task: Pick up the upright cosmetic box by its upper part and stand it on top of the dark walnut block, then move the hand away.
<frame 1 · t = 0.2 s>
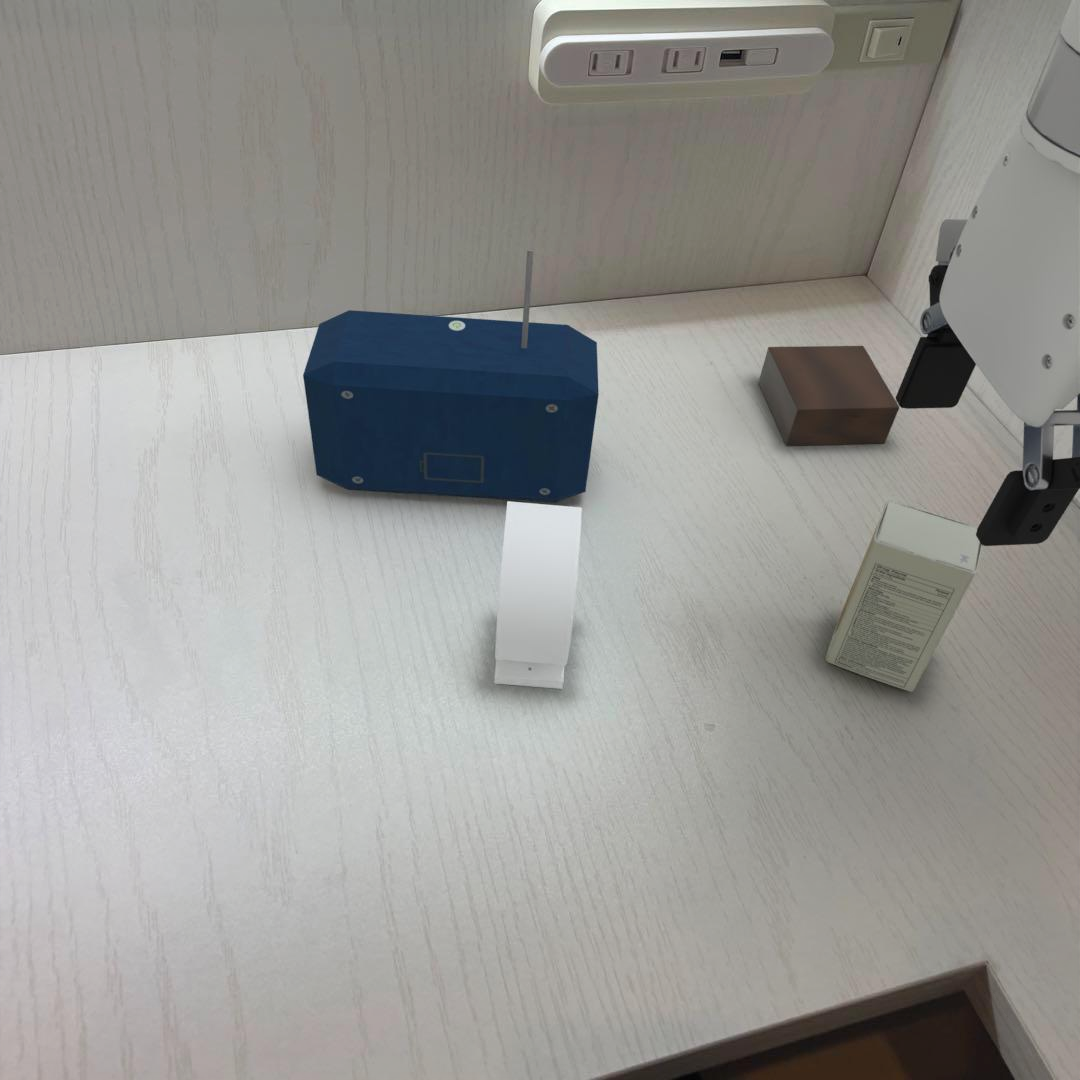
hand: (963, 467, 47), 23 cm above the table, tool pointing down, fingers open, 9 cm apart
cosmetic box: (870, 657, 68), on the table
walnut block: (819, 412, 87), on the table
radio: (455, 468, 79), on the table
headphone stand: (530, 664, 66), on the table
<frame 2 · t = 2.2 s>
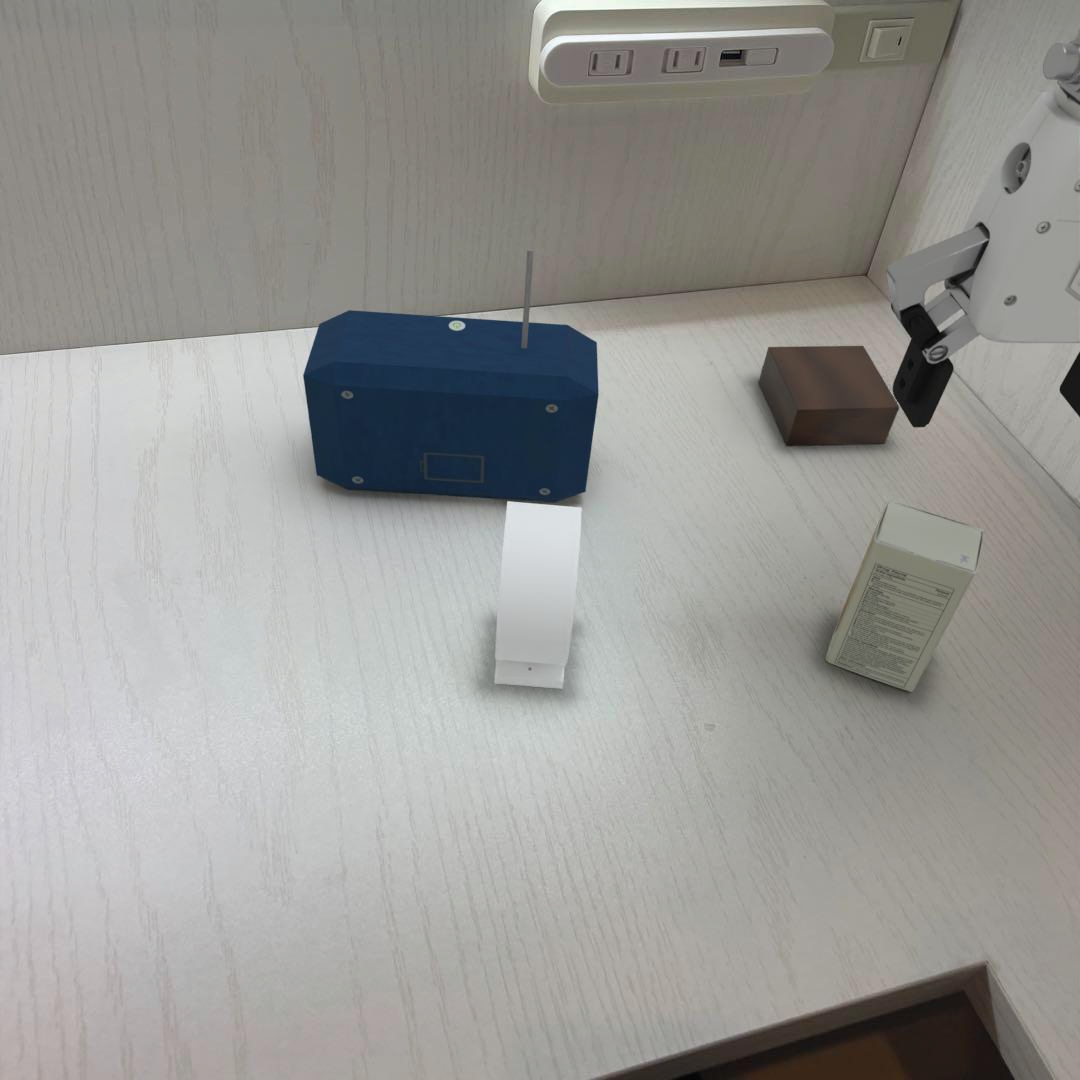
hand: (993, 409, 52), 22 cm above the table, tool pointing down, fingers open, 9 cm apart
nothing on the table moved.
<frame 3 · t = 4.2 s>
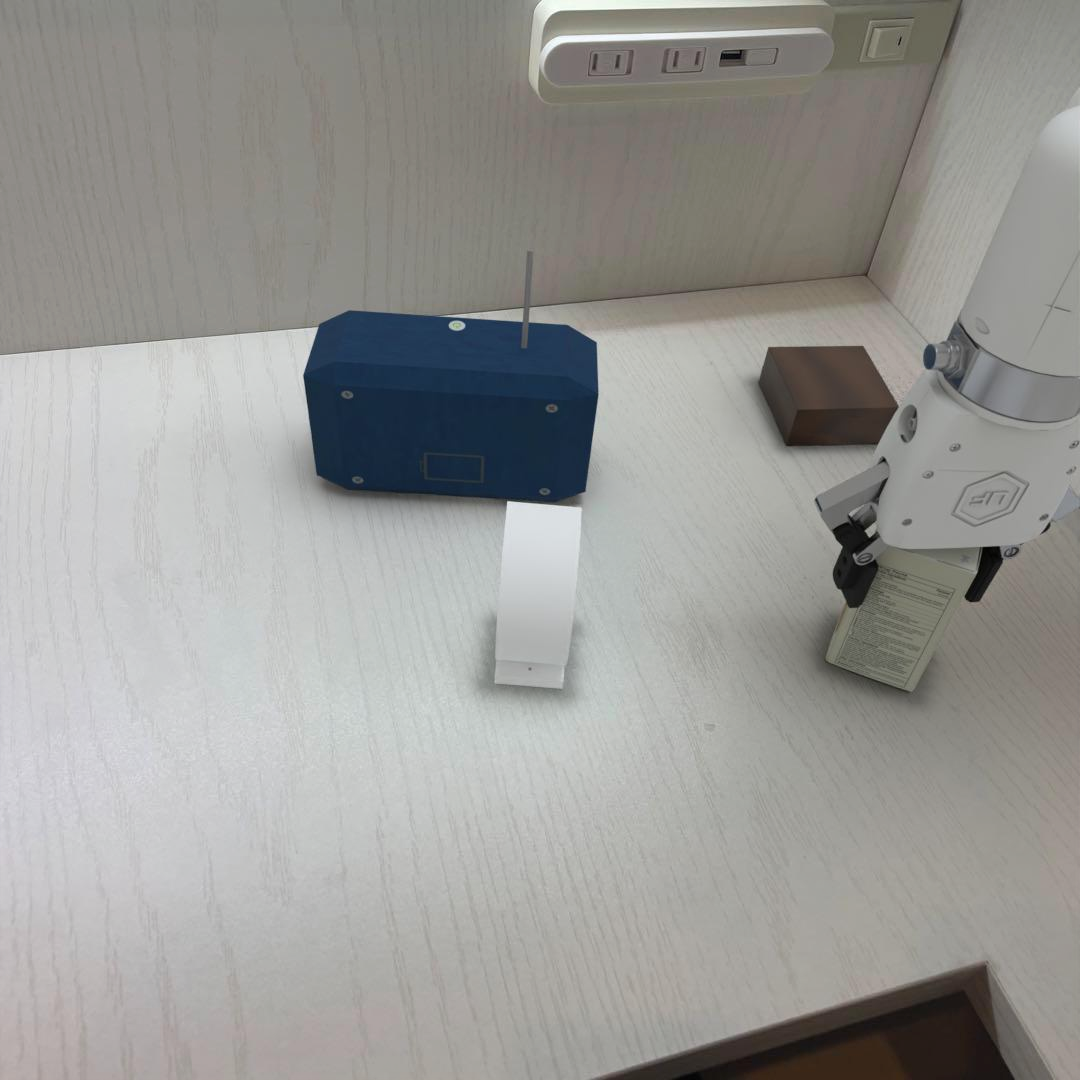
hand: (905, 587, 63), 7 cm above the table, tool pointing down, fingers closed on cosmetic box, 7 cm apart
cosmetic box: (870, 657, 68), on the table, touching gripper
everything else where it was.
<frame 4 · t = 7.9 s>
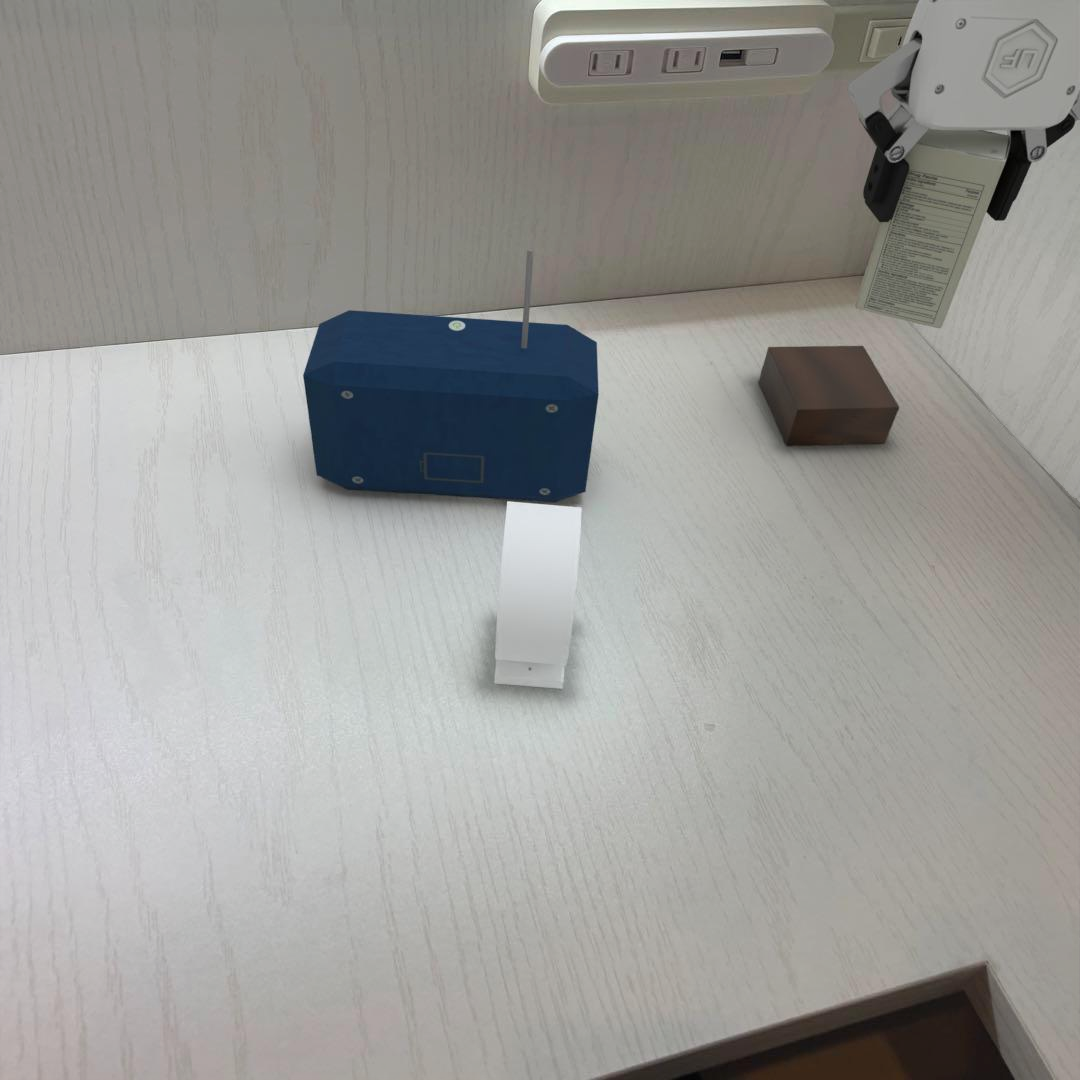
hand: (933, 210, 64), 24 cm above the table, tool pointing down, fingers closed on cosmetic box, 7 cm apart
cosmetic box: (898, 307, 70), point 16 cm above the table, touching gripper
everything else where it was.
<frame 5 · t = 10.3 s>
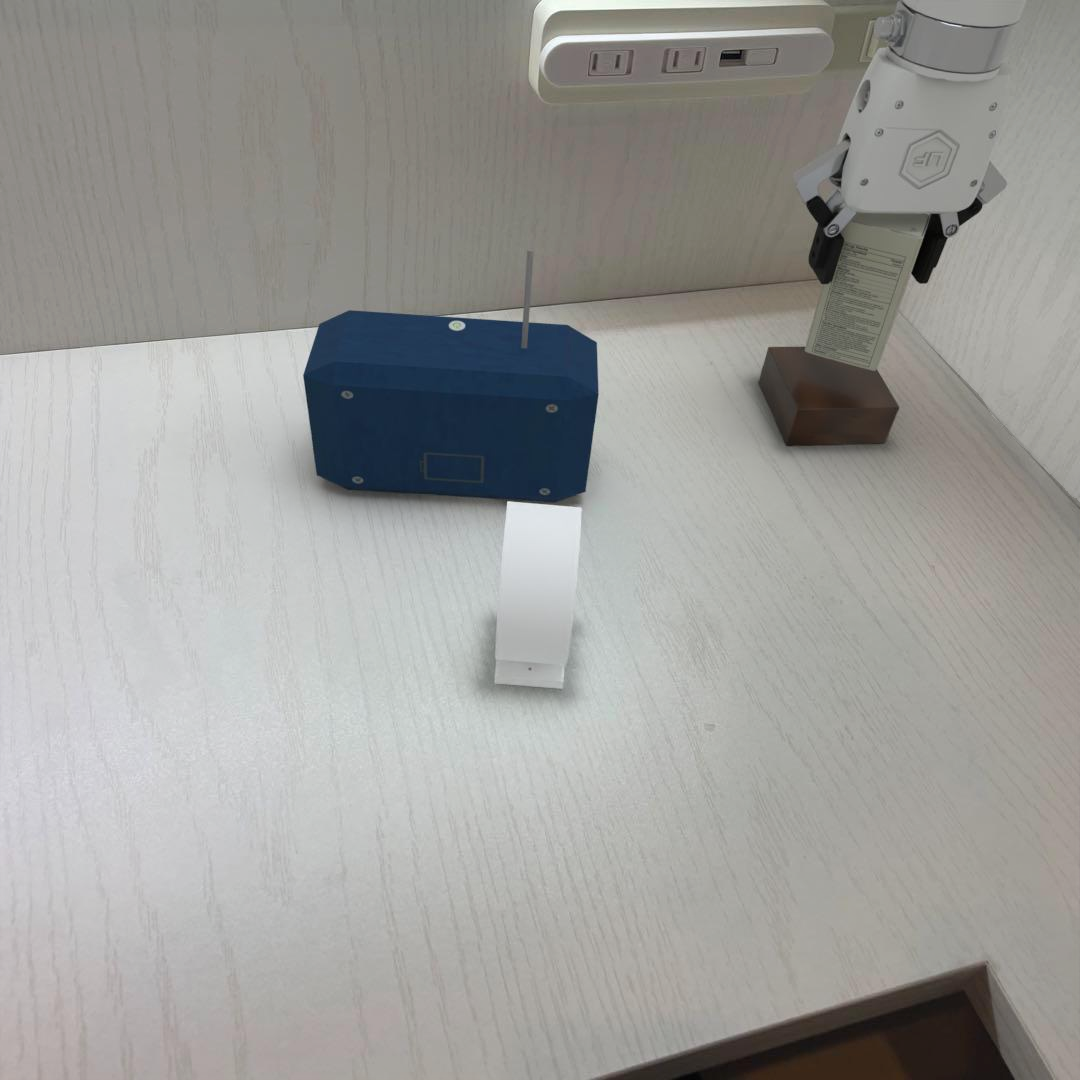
hand: (868, 273, 77), 14 cm above the table, tool pointing down, fingers closed on cosmetic box, 7 cm apart
cosmetic box: (841, 351, 82), point 7 cm above the table, touching gripper
everything else where it was.
when the fingers open (11 cm above the table, at t = 11.9 s): cosmetic box stays where it is, resting on walnut block.
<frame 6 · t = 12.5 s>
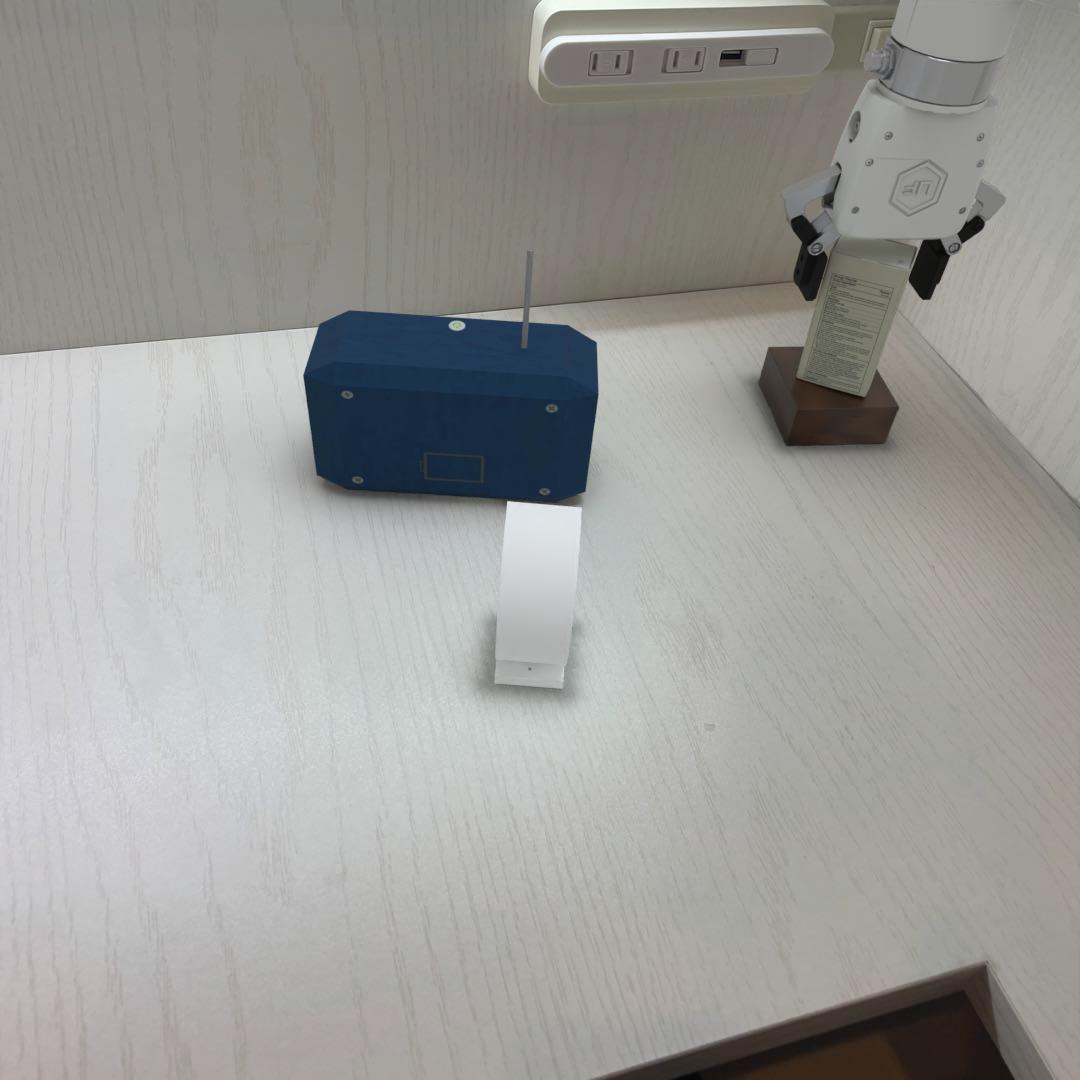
hand: (862, 291, 78), 12 cm above the table, tool pointing down, fingers open, 9 cm apart
cosmetic box: (832, 377, 84), point 4 cm above the table, touching walnut block
walnut block: (819, 412, 87), on the table, touching cosmetic box
everything else where it was.
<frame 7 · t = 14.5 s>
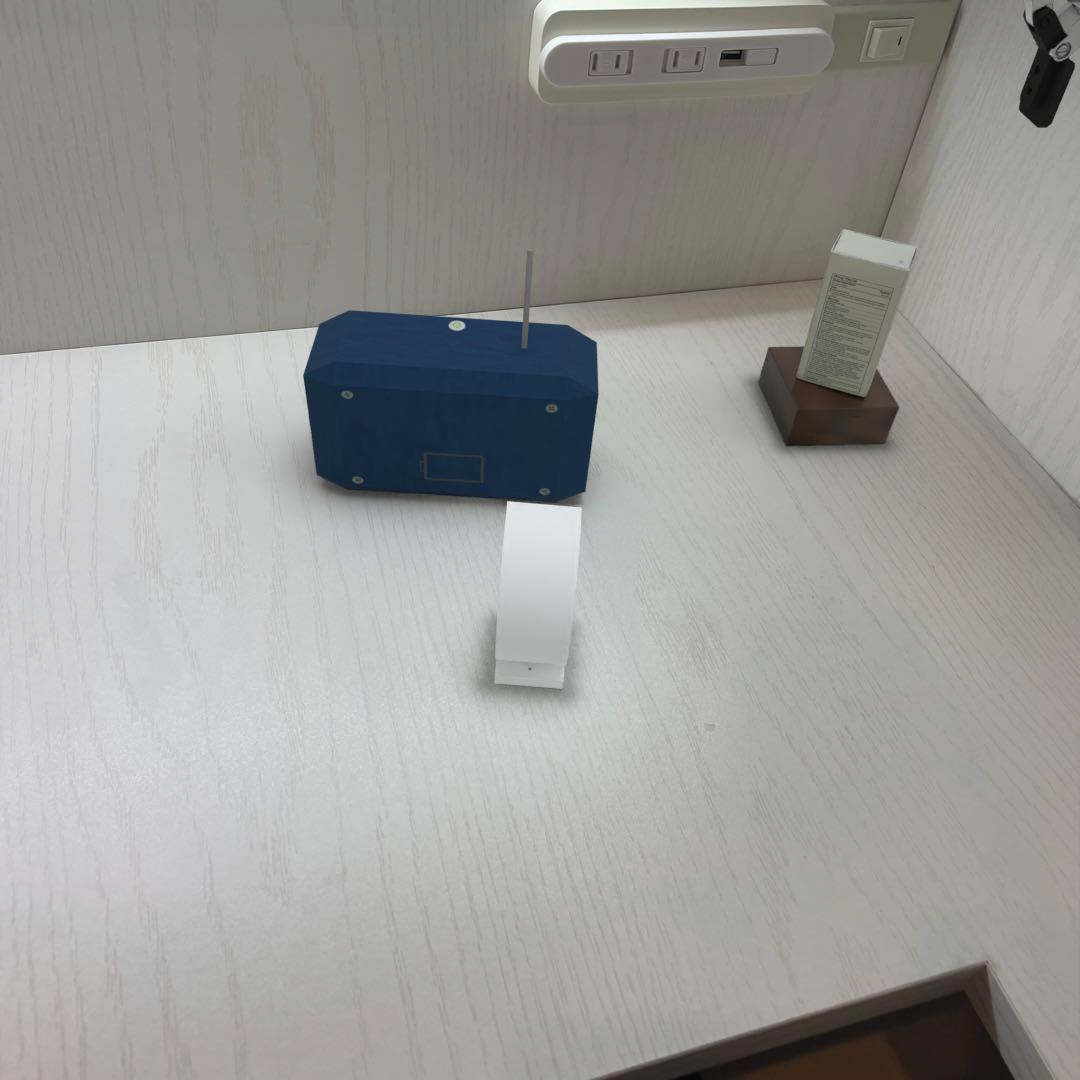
nothing on the table moved.
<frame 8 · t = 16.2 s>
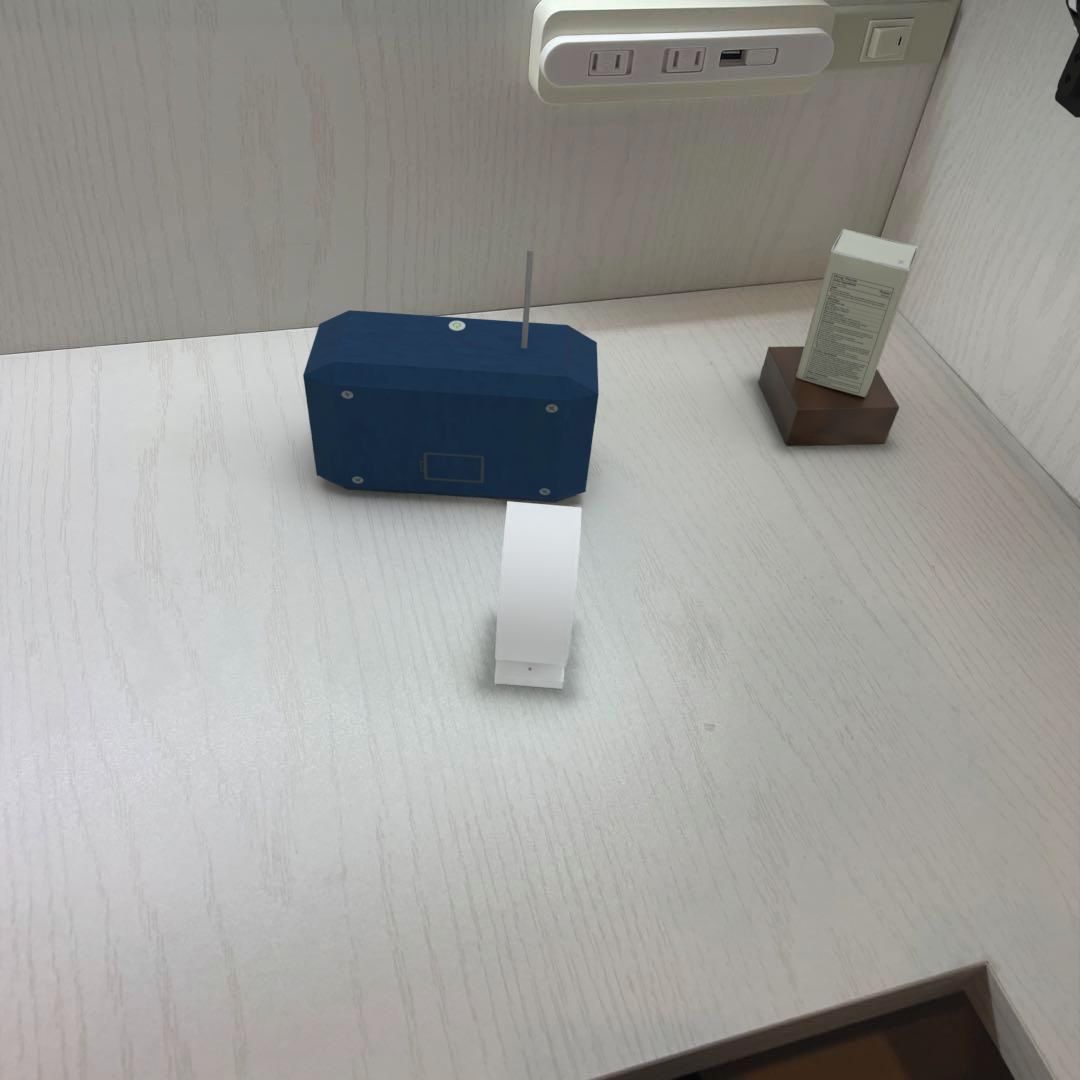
nothing on the table moved.
at the end: cosmetic box 0.1 cm off-centre on the walnut block, point 3.8 cm above the walnut block's base; cosmetic box tilted 0°; the gripper is holding nothing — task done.
